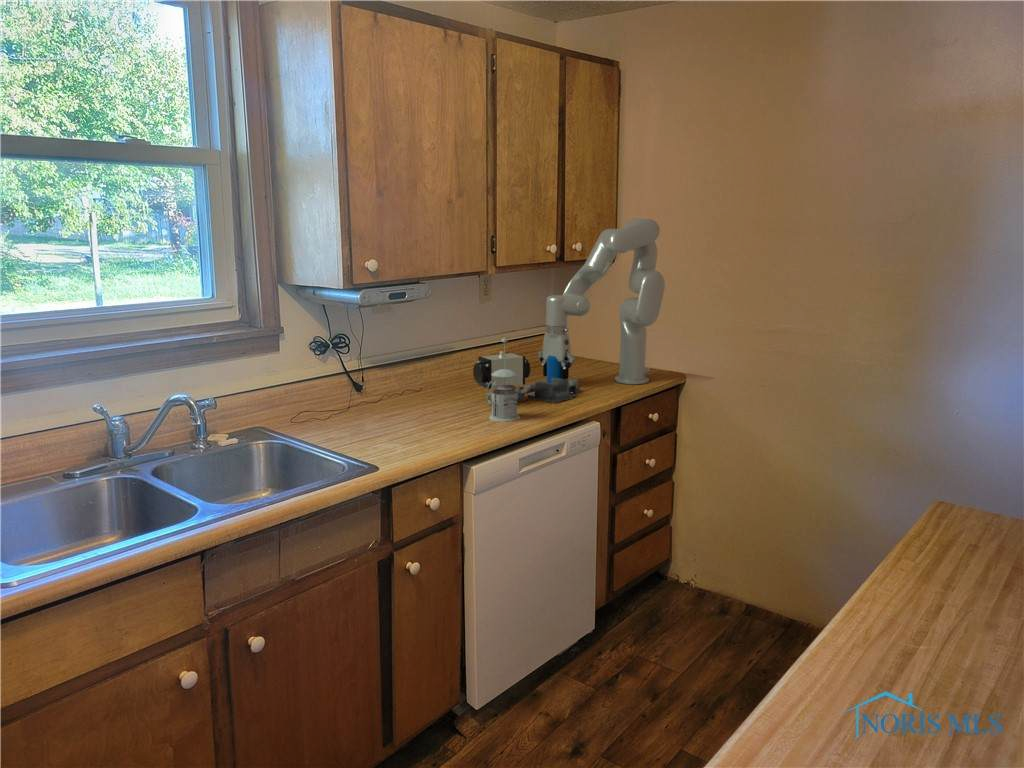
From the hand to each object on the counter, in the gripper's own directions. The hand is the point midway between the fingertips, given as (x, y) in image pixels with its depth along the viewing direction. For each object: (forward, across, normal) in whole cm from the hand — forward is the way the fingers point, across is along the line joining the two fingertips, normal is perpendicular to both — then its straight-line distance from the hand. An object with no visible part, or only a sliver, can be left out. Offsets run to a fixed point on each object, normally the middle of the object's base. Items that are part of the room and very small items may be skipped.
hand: (555, 377), depth 277 cm
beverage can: (+4, 0, 0) cm, 4 cm away
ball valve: (+4, -3, +32) cm, 32 cm away
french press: (+4, -16, +45) cm, 48 cm away
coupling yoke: (+3, -9, +13) cm, 16 cm away
